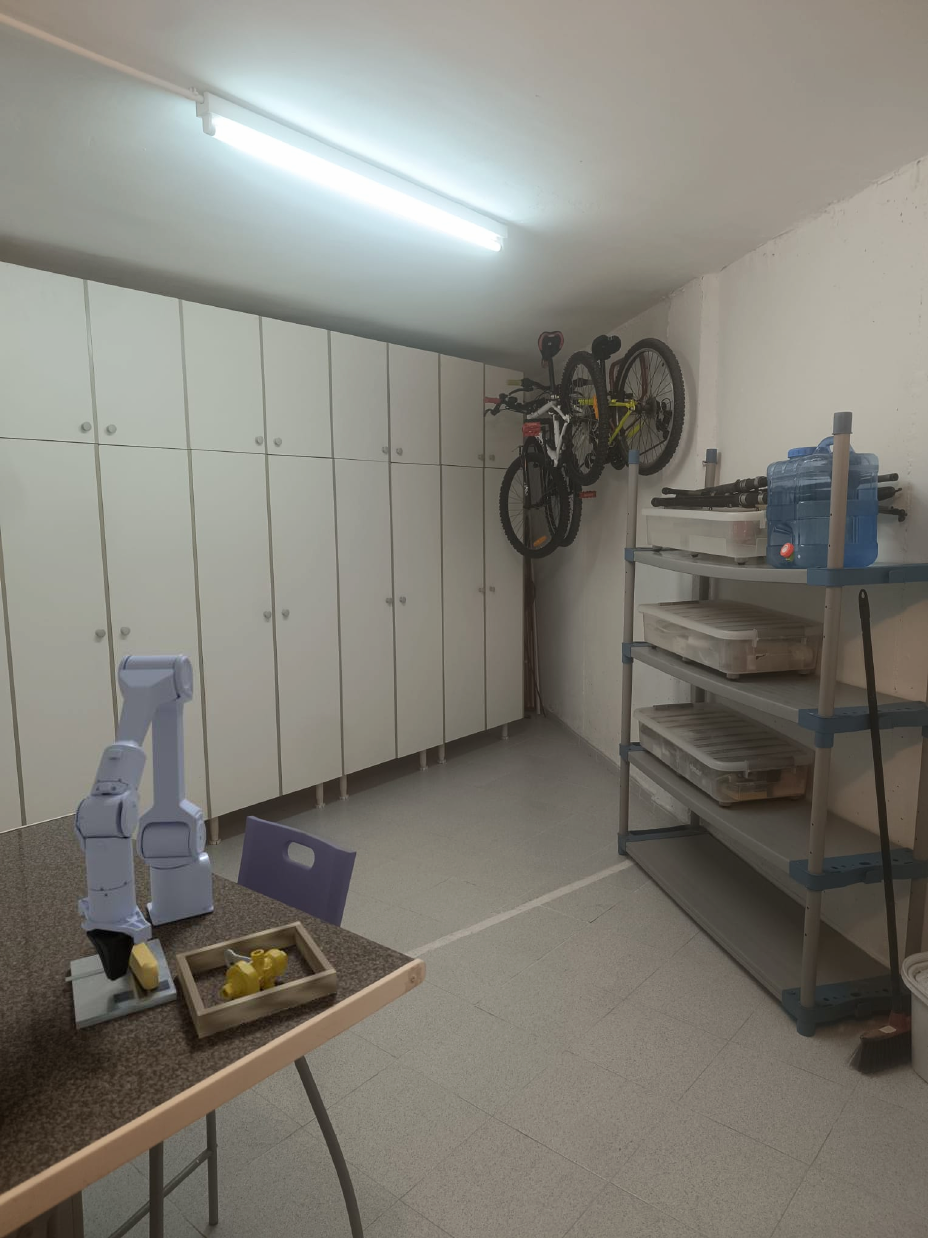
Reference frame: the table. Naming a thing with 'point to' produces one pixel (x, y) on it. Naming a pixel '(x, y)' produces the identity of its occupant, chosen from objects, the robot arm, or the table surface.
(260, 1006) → the parts frame
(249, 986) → the pressure relief valve
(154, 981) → the handle
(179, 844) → the robot arm
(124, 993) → the base
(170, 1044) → the table surface
